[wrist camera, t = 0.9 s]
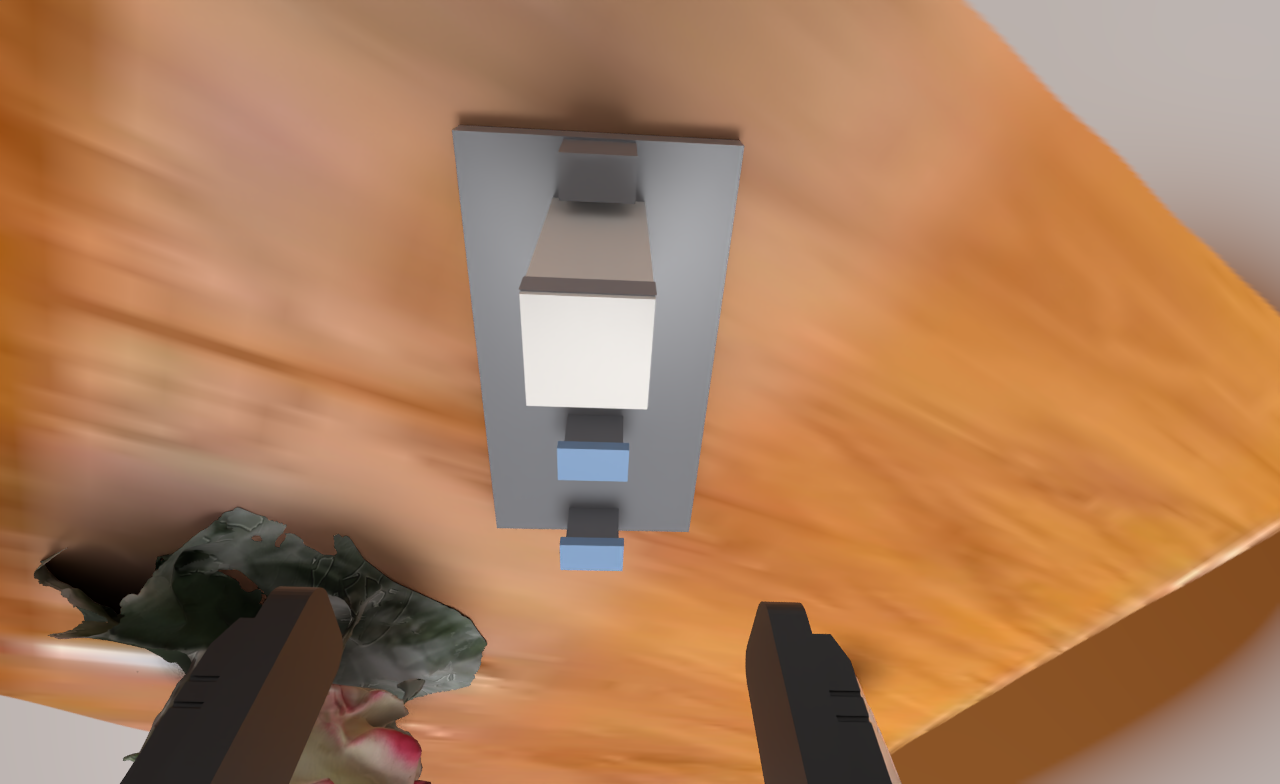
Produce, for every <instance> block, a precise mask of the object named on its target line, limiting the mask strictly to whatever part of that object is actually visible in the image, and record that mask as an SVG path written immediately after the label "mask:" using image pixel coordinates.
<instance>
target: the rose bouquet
mask: <svg viewBox="0 0 1280 784" xmlns="http://www.w3.org/2000/svg"><path fill="white" fill-rule="evenodd" d="M286 526H287V525H286V524H285V525H283V524H282V523H278V522H277V521H276V522H274V521H273V520H271V521H269V520H268V519H267V518H266V517H264V516H260V515H256V514H254V513H251V512H249V511H246V510H244V509H241V508H235V509H234V511H229V512H225V513H223V514H222V516H221V518H220V517H219V519H218V520H215V521H214V522H213V523H212V524H211V525H210V526H209V527H208V528H207V529H206V528H205V530H202V531H200V532H199V533H198V534H197V535H195V536H194V537H192V538H191V539H190V540H189V541H188V542H187V543H185V544H184V545H183V547H182V548H180V549H179V550H178V551H176V552H174V554H170V555H165V556H161V557H162V558H163V559H164V560H163V561H160V558H161V557H159V556H158V557H157V560H156V568H155V570H156V569H158V570H157V571H155V572H154V573H153V577H151V578H150V579H148V580H147V583H146V584H145V585H144V587H143V588H142V589H141V592H140V593H139V594H138V595H135V594H129V595H127V596H126V597H125V598H123V599H122V601H121V603H120V606H121V607H122V608H121V609H120V610H121V614H119V615H117V614H116V612H115V611H114V610H113V609H112V608H110V607H107V606H103V605H100V604H98V603H95V602H94V601H93V600H92V599H90V598H89V597H88V596H87V595H86V594H85V593H84V592H83V591H82V590H80V589H78V588H73V587H72V586H70V585H68V584H66V583H63V582H61V581H59V580H58V579H56V578H55V577H54V576H53V575H52V574H51V573H50V572H49V571H48V569H47V568H46V566H45V563H47V562H48V561H49V560H51V559H52V558H53V557H55V556H56V555H57V554H59V553H60V552H62V551H63V550H65V549H66V548H65V549H63V550H62V551H60V552H58V553H56V554H55V555H53V556H51V557H50V558H48V559H46V560H44V561H40V562H41V563H42V564H41V565H40V566H39V567H38V568H37V569H36V571H35V572H34V578H35V579H38V580H39V581H38V582H39V584H43V586H50V587H53V588H55V589H56V590H59V591H61V595H62V596H63V597H65V598H67V599H68V601H69V603H71V604H73V608H74V607H77V608H78V609H79V610H80V611H81V612H82V614H83V615H84V620H85V621H82V624H79V625H78V626H77V627H75V628H74V629H73V630H69V631H66V632H64V633H58V634H50V635H47V636H50V637H55V638H58V639H69V638H93V639H101V640H108V641H114V642H118V643H123V644H127V645H132V646H137V647H140V648H145V649H147V650H149V651H151V652H153V653H155V654H157V655H159V656H160V657H162V658H163V659H164V660H166V661H167V662H169V663H174V662H177V663H178V665H179V666H180V667H181V668H182V669H183V671H184V672H185V674H186V675H185V676H184V677H183V678H182V679H181V680H180V681H179V682H178V683H177V685H176V687H175V689H174V690H173V692H172V694H171V696H170V698H169V700H168V701H167V703H166V705H165V706H164V708H163V710H162V711H161V712H160V713H159V714H158V715H157V717H156V718H155V720H154V722H153V725H152V728H151V730H150V732H149V735H148V737H147V739H146V741H145V743H144V745H143V747H144V746H145V744H146V743H147V741H148V740H149V738H150V737H151V735H152V734H153V732H154V730H155V729H156V727H157V726H158V724H159V723H160V721H161V720H162V718H163V717H164V715H165V713H166V712H167V710H168V709H169V708H172V706H173V704H174V702H173V701H174V699H175V698H176V696H177V695H178V693H179V692H180V690H181V689H182V687H183V686H184V684H185V682H188V681H189V680H190V675H191V673H192V672H193V670H194V669H195V667H196V665H197V664H198V662H199V661H200V659H201V658H202V656H203V655H204V653H205V652H206V650H207V648H208V647H209V645H210V644H211V643H212V642H213V641H214V640H215V639H217V638H218V637H219V636H220V635H221V634H222V633H223V632H224V631H225V630H227V629H228V628H229V627H230V626H231V625H232V624H233V623H234V622H236V621H237V620H238V619H239V618H255V617H256V615H257V614H258V612H259V610H260V609H261V607H262V605H261V604H259V602H260V601H261V599H262V595H261V594H266V596H267V597H268V596H269V594H270V593H271V592H272V591H273V590H274V589H275V588H277V587H280V586H283V587H319V588H324V589H325V590H326V592H327V594H328V597H329V600H330V603H331V605H332V608H333V611H334V614H335V617H336V620H337V623H338V626H339V628H340V631H341V634H342V639H343V650H342V657H341V661H340V665H339V668H338V671H337V674H336V676H335V678H334V681H333V683H332V685H331V688H330V690H329V692H328V695H327V697H326V699H325V701H324V704H323V706H322V708H321V711H320V713H319V715H318V718H317V720H316V722H315V725H314V727H313V729H312V732H311V734H310V736H309V739H308V741H307V743H306V746H305V748H304V750H303V753H302V755H301V757H300V759H299V762H298V764H297V766H296V769H295V771H294V773H293V776H292V778H291V780H290V783H289V784H431V782H427V781H422V780H418V779H419V777H420V775H421V771H422V764H421V752H422V750H421V747H420V745H419V743H418V741H417V740H416V739H414V738H413V737H412V736H411V734H410V733H409V732H407V731H404V730H402V729H400V728H398V727H396V722H395V720H397V719H399V718H402V717H404V716H406V715H408V714H409V712H408V710H407V709H406V707H405V706H404V704H405V703H406V702H407V701H409V700H412V699H413V698H416V697H421V696H423V695H428V694H432V693H437V692H441V691H450V690H451V689H453V690H456V689H460V688H463V687H467V686H470V685H471V684H470V683H471V682H472V680H473V679H475V675H474V674H476V672H478V671H477V670H479V667H480V665H481V658H482V657H483V656H482V651H484V650H483V649H485V648H484V647H485V646H486V645H487V642H486V640H485V639H484V638H483V637H482V636H481V635H480V633H479V632H478V630H477V629H476V627H475V626H474V625H473V623H472V621H471V620H469V619H468V618H466V617H464V616H463V615H461V614H460V613H459V612H457V611H456V610H454V609H452V608H450V607H447V606H445V605H443V604H441V603H438V602H436V601H434V600H432V599H430V598H428V597H425V596H423V595H421V594H419V593H417V592H414V591H412V590H410V589H408V588H406V587H403V586H401V585H399V584H397V583H395V582H393V581H391V580H390V579H389V578H387V577H386V576H385V575H383V574H382V573H381V572H380V571H378V570H377V569H376V568H374V567H373V566H372V565H371V564H369V563H368V562H367V561H365V560H364V559H363V557H362V556H361V554H360V553H359V551H358V550H357V548H356V547H355V545H354V544H353V542H352V541H351V539H350V538H349V537H348V536H344V537H343V538H342V537H341V536H340V535H339V534H337V535H335V536H334V535H333V536H334V545H335V546H334V548H335V549H336V551H337V554H336V555H335V556H332V555H323V554H321V553H319V552H318V551H316V550H314V549H312V548H310V547H308V546H306V545H304V544H303V540H302V539H301V538H299V537H298V536H296V535H295V534H291V533H288V534H285V535H286V538H285V540H284V541H283V542H282V543H281V545H280V547H275V541H276V539H277V538H278V537H279V536H280V535H281V534H283V532H284V529H285V528H286ZM254 535H259V536H260V537H261V538H262V541H261V542H258V541H254V540H253V539H252V536H254ZM233 569H236V570H239V571H241V572H242V573H243V574H244V575H245V576H247V577H248V578H249V579H250V580H251V581H253V582H254V583H255V584H256V585H257V586H258V588H259V589H261V590H263V591H264V593H263V592H261V590H259V589H256V590H254V591H252V592H246V591H245V590H243V589H242V588H241V586H240V585H239V582H238V581H237V580H235V579H233V578H232V577H230V576H228V575H225V574H223V573H222V572H219V571H217V570H233ZM143 747H142V749H143ZM142 749H141V751H142ZM141 751H140V752H141ZM140 752H139V753H135V754H131V755H128V756H126V757H124V758H123V761H126V760H131V761H133V762H134V761H135V760H136V758H137V757H138V755H139V754H140Z"/></svg>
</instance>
